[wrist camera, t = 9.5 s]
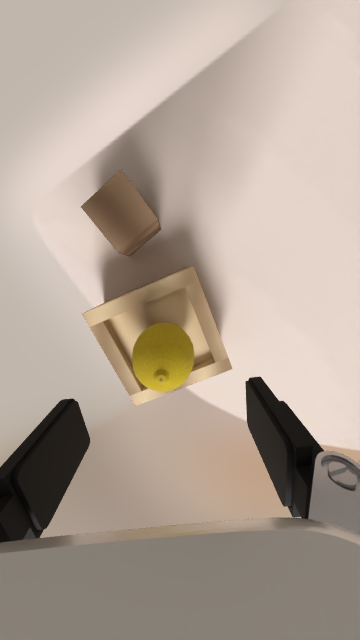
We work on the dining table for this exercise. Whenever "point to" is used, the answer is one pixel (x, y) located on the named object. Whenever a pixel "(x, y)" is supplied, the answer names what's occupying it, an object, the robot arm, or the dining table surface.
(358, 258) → the dining table surface
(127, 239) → the walnut cube
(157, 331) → the lemon
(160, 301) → the oak tray
